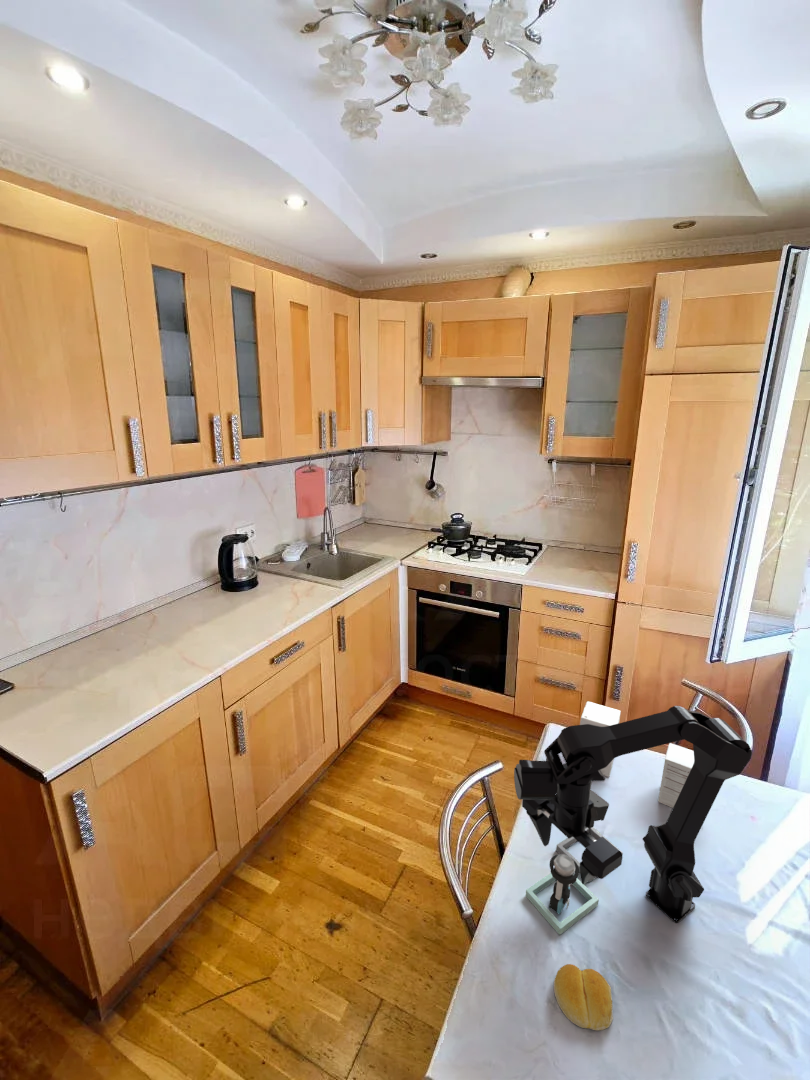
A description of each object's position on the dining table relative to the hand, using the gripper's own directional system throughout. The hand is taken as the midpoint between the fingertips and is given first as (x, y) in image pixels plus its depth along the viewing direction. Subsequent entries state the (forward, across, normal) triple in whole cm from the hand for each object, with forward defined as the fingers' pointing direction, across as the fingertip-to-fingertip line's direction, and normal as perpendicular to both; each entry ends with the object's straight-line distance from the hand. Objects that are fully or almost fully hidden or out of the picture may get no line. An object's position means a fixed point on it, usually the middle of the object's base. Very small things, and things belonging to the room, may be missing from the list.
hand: (564, 863), depth 92 cm
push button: (+10, 0, 0) cm, 10 cm away
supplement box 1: (+9, +22, -38) cm, 45 cm away
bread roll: (+10, -13, +10) cm, 19 cm away
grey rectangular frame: (+9, +4, -13) cm, 17 cm away
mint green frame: (+9, 0, 0) cm, 9 cm away
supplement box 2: (+9, +3, -44) cm, 45 cm away
